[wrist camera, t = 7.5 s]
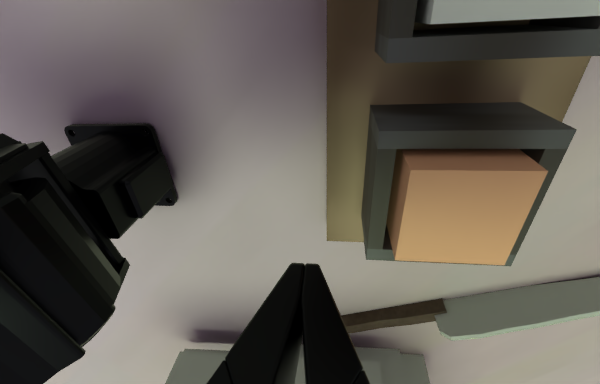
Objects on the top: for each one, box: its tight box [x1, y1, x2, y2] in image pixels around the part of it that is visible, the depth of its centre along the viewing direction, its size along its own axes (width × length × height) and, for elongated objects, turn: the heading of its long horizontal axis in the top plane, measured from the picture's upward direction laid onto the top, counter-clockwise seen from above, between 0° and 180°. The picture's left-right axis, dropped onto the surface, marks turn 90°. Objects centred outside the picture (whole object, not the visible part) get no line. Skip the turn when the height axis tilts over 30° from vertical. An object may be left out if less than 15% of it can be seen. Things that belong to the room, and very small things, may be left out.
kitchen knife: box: [341, 277, 600, 341], centre depth 23 cm, size 4×1×30 cm
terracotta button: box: [386, 149, 548, 265], centre depth 14 cm, size 5×5×4 cm
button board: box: [327, 0, 600, 266], centre depth 13 cm, size 12×22×6 cm, turn 3°
